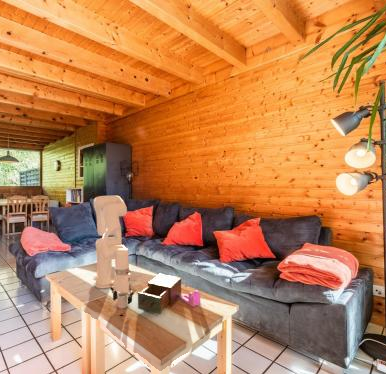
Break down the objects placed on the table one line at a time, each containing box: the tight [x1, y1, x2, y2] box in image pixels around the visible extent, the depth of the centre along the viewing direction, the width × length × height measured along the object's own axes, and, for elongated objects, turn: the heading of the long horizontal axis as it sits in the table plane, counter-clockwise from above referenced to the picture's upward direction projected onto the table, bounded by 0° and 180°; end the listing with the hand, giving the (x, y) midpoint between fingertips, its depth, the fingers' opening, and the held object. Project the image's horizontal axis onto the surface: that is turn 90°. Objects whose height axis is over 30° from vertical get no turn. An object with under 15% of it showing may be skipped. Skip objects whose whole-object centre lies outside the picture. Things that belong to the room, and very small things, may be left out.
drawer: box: [137, 285, 170, 316], centre depth 139 cm, size 19×13×9 cm
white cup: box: [116, 292, 128, 309], centre depth 143 cm, size 6×6×6 cm
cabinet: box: [147, 273, 182, 307], centre depth 152 cm, size 16×15×11 cm
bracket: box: [179, 290, 201, 307], centre depth 149 cm, size 13×6×7 cm, turn 34°
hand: (122, 301), depth 143 cm, fingers open, 9 cm apart
